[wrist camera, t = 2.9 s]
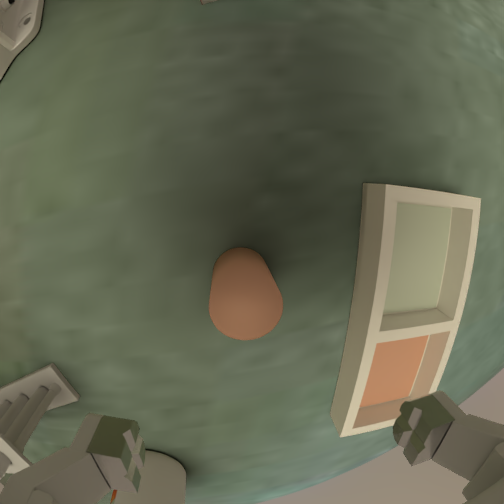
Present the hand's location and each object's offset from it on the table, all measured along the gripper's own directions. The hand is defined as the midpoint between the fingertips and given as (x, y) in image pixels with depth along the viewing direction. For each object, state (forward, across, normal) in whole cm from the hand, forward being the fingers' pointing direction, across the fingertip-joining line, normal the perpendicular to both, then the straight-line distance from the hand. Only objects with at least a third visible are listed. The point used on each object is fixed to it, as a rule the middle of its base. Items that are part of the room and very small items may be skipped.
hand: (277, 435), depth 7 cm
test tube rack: (+15, +28, +16) cm, 36 cm away
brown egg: (+15, 0, -1) cm, 15 cm away
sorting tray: (+15, -14, +4) cm, 21 cm away
